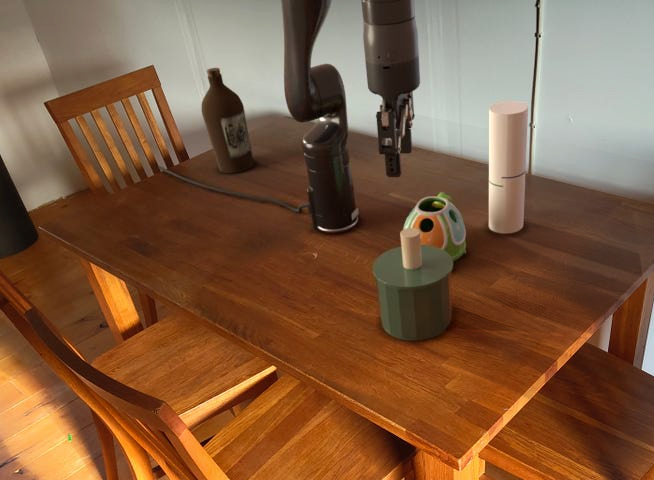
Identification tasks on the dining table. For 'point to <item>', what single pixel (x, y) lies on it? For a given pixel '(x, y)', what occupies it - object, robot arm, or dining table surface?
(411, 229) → the lid
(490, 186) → the cylindrical container
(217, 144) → the olive oil
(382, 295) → the canister
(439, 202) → the turtle holder
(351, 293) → the dining table surface
